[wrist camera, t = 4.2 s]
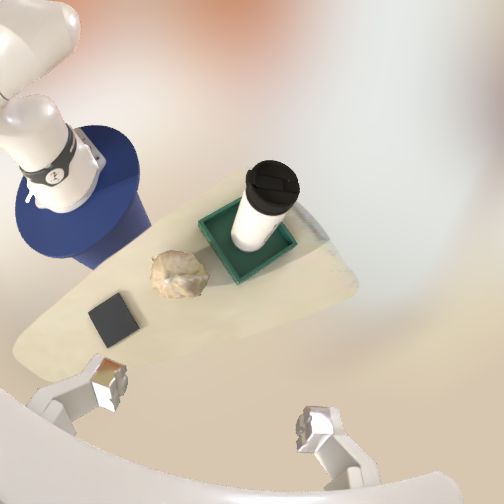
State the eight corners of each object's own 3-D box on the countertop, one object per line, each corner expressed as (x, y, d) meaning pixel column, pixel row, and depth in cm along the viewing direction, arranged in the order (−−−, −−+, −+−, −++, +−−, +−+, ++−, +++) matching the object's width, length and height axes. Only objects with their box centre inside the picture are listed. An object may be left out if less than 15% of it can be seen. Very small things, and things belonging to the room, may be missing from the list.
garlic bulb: (205, 284, 48) (229, 283, 39) (168, 313, 44) (183, 320, 35) (175, 239, 46) (192, 229, 38) (136, 267, 42) (143, 263, 34)
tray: (198, 226, 48) (198, 221, 46) (255, 194, 52) (257, 188, 50) (237, 285, 47) (239, 283, 44) (293, 247, 50) (297, 243, 48)
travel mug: (229, 218, 49) (247, 153, 30) (265, 221, 50) (302, 161, 31) (227, 251, 47) (245, 201, 28) (264, 254, 48) (305, 208, 30)
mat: (88, 312, 40) (87, 312, 40) (119, 293, 42) (118, 292, 42) (108, 348, 40) (107, 348, 39) (139, 328, 42) (138, 328, 41)
